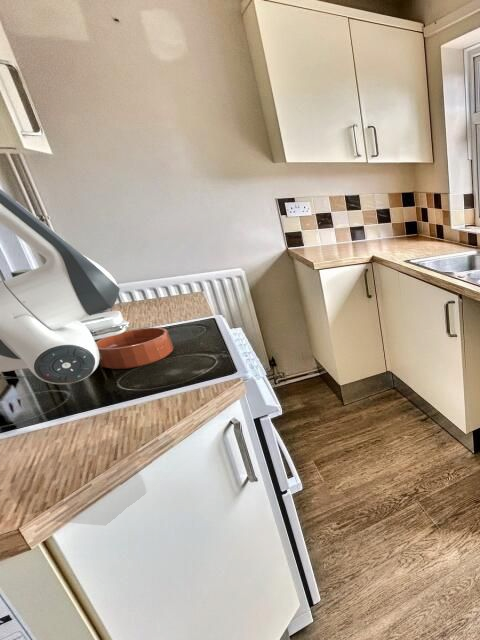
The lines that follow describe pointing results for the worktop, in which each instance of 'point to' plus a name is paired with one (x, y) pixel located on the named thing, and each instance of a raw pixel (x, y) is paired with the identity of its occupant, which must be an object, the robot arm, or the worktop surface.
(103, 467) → the worktop surface
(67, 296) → the robot arm
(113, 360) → the bowl
